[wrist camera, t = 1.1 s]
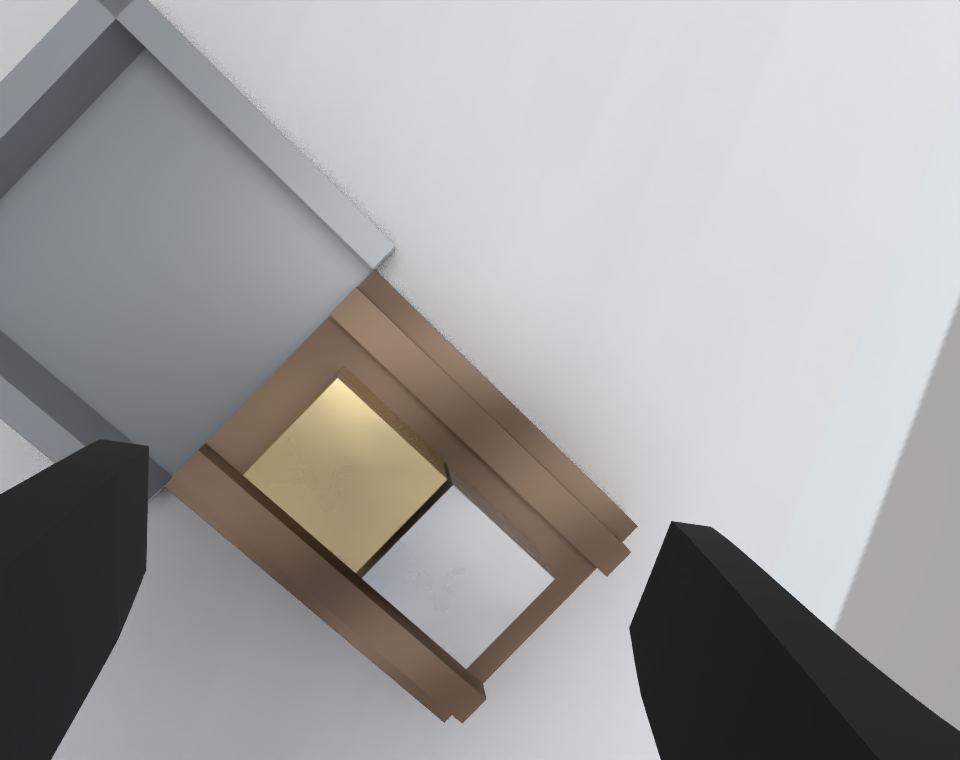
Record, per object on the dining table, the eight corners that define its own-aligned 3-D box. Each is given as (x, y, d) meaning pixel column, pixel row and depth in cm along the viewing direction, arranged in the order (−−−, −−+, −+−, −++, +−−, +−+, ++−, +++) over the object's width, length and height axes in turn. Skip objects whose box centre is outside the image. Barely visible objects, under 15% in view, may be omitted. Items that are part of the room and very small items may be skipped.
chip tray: (395, 249, 25) (395, 245, 22) (157, 494, 26) (126, 522, 23) (147, 5, 24) (112, -35, 21) (-108, 272, 24) (-179, 270, 21)
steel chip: (536, 545, 26) (554, 579, 23) (457, 625, 26) (466, 669, 23) (446, 460, 25) (453, 484, 22) (365, 543, 25) (361, 578, 22)
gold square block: (441, 456, 25) (447, 479, 22) (360, 539, 25) (355, 572, 22) (344, 365, 24) (337, 377, 21) (260, 451, 24) (242, 475, 21)
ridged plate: (624, 513, 28) (647, 535, 25) (441, 699, 28) (446, 739, 25) (375, 270, 25) (373, 268, 23) (177, 474, 26) (153, 494, 23)
